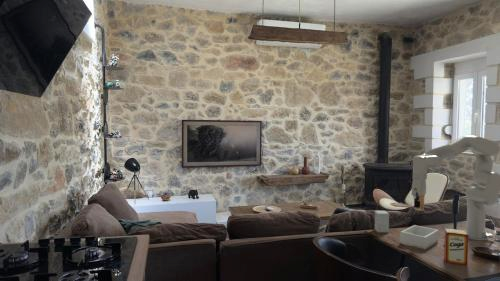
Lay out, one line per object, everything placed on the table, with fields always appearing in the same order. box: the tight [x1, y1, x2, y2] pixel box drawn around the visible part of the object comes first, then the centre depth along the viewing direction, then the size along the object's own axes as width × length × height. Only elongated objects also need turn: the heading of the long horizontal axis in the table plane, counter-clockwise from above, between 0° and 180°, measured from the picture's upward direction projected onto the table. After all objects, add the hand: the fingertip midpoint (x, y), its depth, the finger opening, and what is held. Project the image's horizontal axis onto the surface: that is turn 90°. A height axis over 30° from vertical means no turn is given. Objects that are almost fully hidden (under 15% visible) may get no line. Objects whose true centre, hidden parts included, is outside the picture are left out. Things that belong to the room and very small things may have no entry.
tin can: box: [413, 193, 425, 212], centre depth 205 cm, size 5×5×10 cm
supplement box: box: [374, 210, 390, 233], centre depth 226 cm, size 7×7×13 cm
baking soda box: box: [443, 228, 469, 266], centre depth 175 cm, size 10×6×16 cm
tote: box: [399, 224, 439, 250], centre depth 204 cm, size 20×14×7 cm
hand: (419, 206), depth 205 cm, fingers closed on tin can, 5 cm apart
